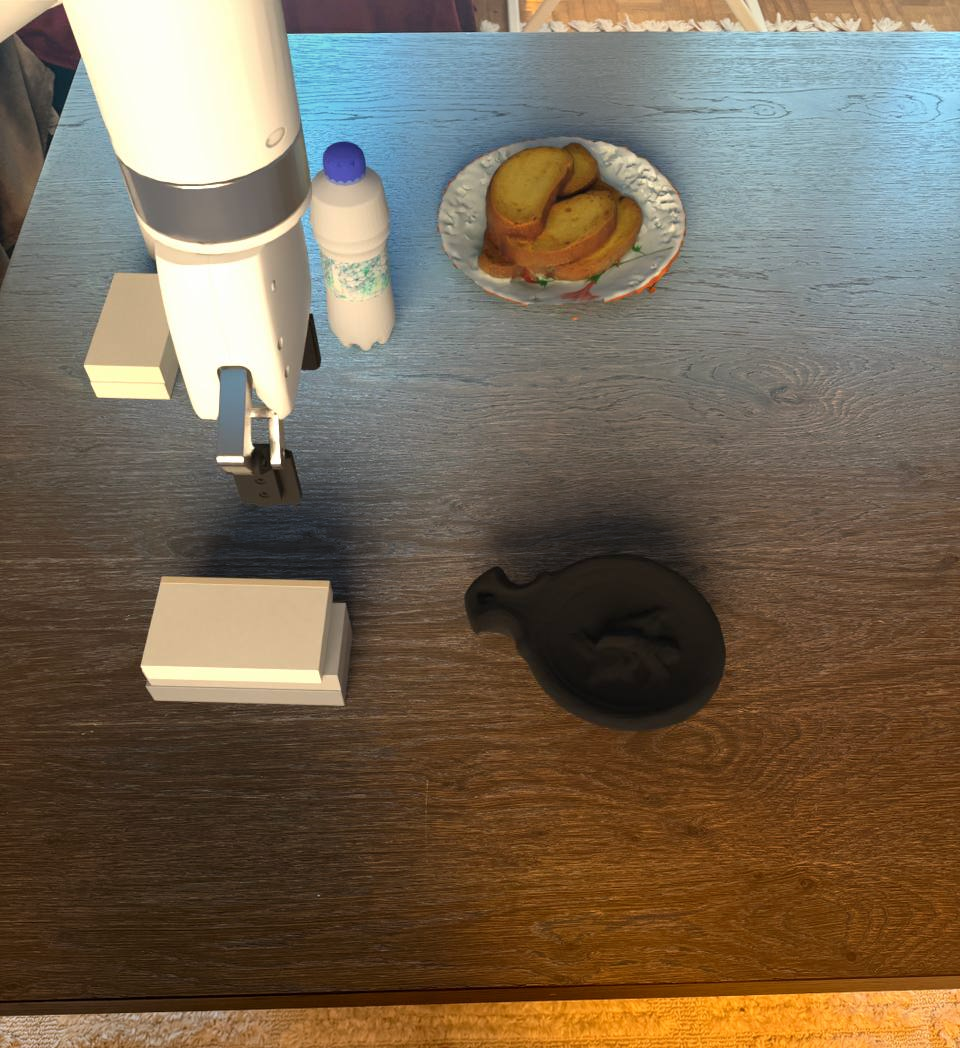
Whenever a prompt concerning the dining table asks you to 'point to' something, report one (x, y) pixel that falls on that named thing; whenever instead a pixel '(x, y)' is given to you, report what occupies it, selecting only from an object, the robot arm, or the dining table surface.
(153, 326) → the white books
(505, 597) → the oil lamp
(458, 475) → the dining table surface
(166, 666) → the cream flat block
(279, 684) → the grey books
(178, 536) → the dining table surface
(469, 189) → the food on plate
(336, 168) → the bottle
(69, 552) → the dining table surface
